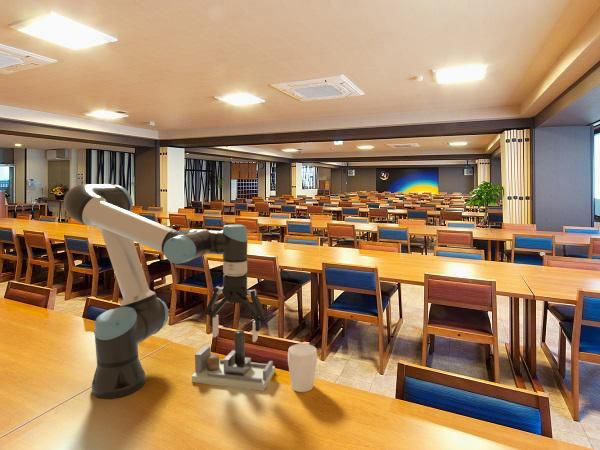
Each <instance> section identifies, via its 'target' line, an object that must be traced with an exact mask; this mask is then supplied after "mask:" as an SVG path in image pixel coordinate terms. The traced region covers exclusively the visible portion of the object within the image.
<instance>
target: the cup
mask: <svg viewBox="0 0 600 450" xmlns="http://www.w3.org/2000/svg"><path fill="white" fill-rule="evenodd" d="M317 352H318V351H317V348H316V347H315V346H314V345H311V344H307V343H298V344H292V345H290V346H289V348H288V351H287V364H288V371H289V377H290V378H289V379H290V383H291V384H290V386H291V388H292V389H293V391H294V392H299V393H306V392H309V391H311V390H312V389H313V388H314V384H315V383H314V382H315V376H316V369H317V363H318V361H317V360H318V356H317V354H318V353H317Z"/></svg>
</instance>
